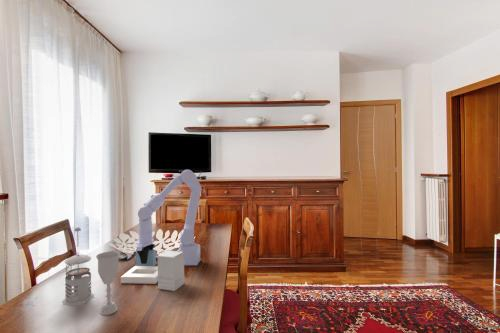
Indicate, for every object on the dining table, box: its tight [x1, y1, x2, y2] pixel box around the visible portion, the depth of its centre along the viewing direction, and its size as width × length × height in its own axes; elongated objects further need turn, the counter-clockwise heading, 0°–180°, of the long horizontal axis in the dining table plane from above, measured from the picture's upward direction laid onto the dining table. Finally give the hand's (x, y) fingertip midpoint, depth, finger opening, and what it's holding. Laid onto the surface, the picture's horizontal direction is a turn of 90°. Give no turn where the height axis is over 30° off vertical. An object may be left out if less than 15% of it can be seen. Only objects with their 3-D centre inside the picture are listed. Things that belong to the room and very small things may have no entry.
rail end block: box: [135, 249, 157, 266], centre depth 132 cm, size 8×4×7 cm, turn 87°
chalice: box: [95, 250, 120, 316], centre depth 92 cm, size 7×7×18 cm
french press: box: [61, 227, 95, 307], centre depth 101 cm, size 10×12×25 cm
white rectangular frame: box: [120, 265, 158, 285], centre depth 119 cm, size 14×12×2 cm
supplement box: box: [156, 249, 185, 292], centre depth 110 cm, size 7×7×13 cm
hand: (145, 261), depth 132 cm, fingers closed on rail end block, 3 cm apart
